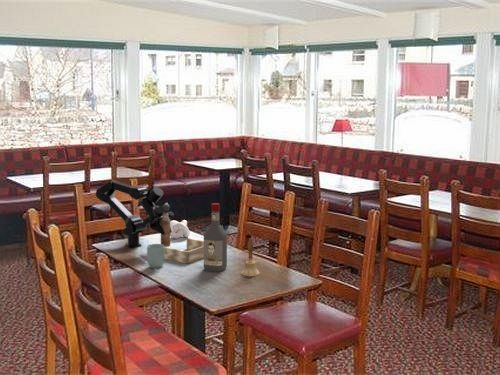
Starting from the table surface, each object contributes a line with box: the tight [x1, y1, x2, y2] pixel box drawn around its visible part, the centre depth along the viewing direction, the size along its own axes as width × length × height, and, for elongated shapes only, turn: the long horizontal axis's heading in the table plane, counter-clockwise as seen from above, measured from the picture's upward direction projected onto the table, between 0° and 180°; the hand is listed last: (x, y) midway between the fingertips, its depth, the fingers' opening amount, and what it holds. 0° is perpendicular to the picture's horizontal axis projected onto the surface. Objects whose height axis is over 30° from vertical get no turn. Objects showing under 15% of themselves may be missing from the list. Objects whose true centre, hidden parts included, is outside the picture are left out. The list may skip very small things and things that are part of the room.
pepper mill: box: [160, 211, 171, 248], centre depth 302 cm, size 5×5×17 cm
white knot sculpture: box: [170, 219, 191, 240], centre depth 334 cm, size 11×12×9 cm
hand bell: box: [240, 237, 261, 277], centre depth 272 cm, size 8×8×16 cm
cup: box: [146, 243, 165, 270], centre depth 279 cm, size 8×8×10 cm
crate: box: [164, 237, 204, 265], centre depth 296 cm, size 16×20×6 cm
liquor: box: [203, 202, 228, 273], centre depth 276 cm, size 9×9×30 cm
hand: (167, 233), depth 302 cm, fingers closed on pepper mill, 5 cm apart
